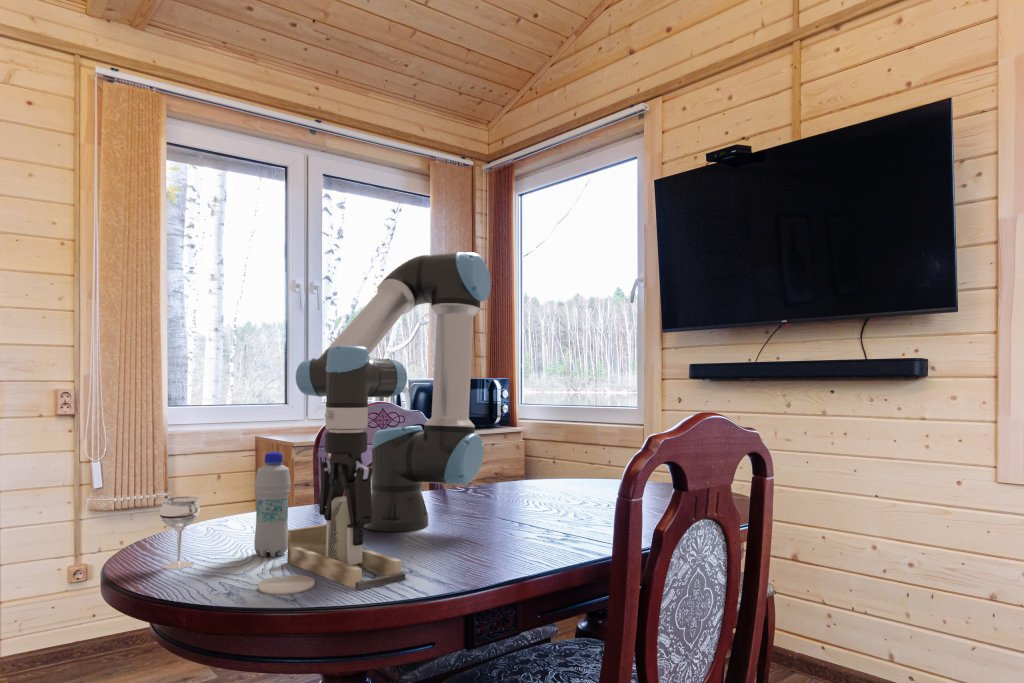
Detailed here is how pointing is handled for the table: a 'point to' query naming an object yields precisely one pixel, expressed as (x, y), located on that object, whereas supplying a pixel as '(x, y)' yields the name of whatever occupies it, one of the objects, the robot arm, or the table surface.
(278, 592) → the coaster
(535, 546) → the table surface
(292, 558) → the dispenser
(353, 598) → the table surface
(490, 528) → the table surface
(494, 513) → the table surface
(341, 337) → the robot arm
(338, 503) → the box
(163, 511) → the wineglass
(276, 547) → the bottle
